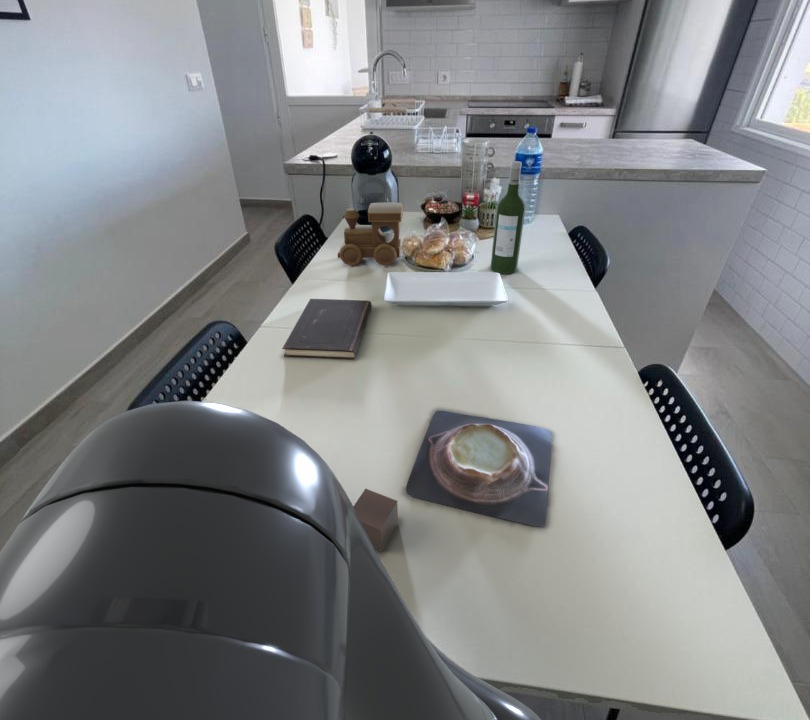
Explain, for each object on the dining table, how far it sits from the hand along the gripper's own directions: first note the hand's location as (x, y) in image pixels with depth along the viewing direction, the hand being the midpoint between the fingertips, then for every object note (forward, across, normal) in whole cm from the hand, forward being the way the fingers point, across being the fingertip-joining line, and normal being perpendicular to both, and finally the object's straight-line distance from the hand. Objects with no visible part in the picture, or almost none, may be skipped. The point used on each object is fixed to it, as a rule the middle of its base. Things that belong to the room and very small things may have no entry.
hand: (249, 497), depth 51 cm
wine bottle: (+33, -99, +14) cm, 105 cm away
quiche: (-9, -34, +14) cm, 38 cm away
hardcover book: (+42, -41, +14) cm, 60 cm away
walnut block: (-6, -13, +14) cm, 20 cm away
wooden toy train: (+67, -76, +14) cm, 102 cm away
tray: (+34, -73, +14) cm, 82 cm away
